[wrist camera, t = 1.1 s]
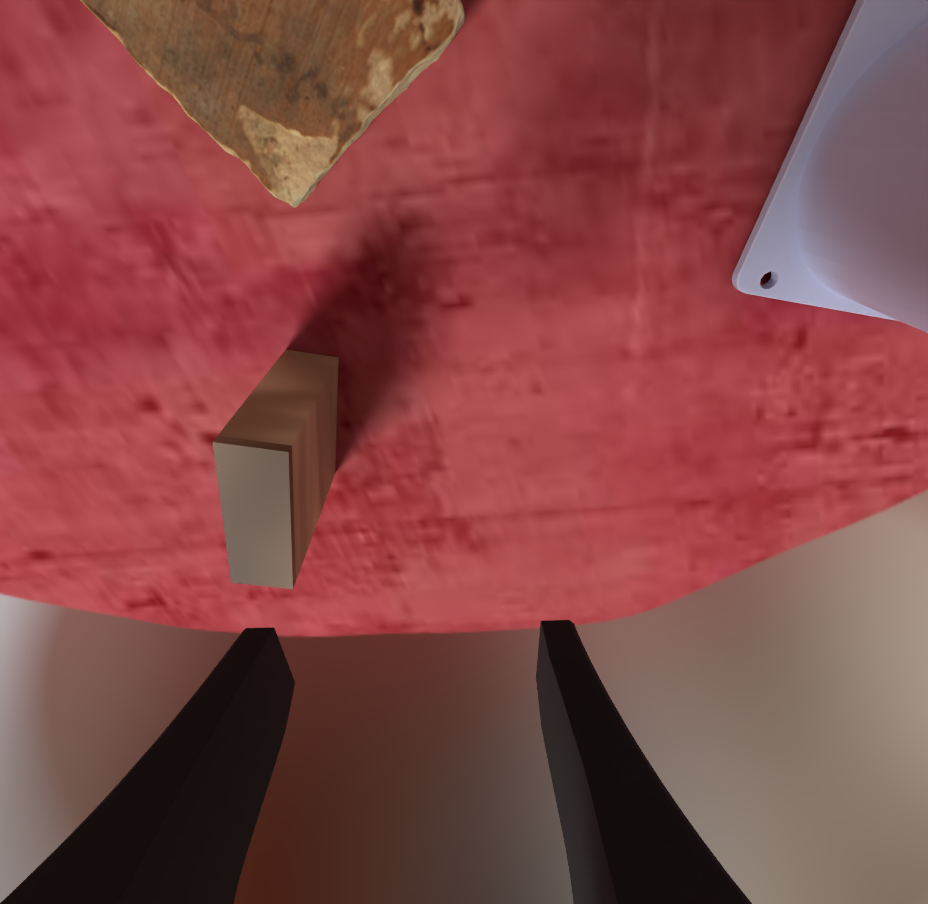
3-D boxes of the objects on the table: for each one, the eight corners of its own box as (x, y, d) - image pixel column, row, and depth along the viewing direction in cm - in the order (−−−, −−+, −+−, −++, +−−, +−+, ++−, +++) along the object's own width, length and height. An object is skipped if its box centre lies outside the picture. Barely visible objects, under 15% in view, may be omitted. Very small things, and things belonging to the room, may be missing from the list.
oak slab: (338, 357, 17) (288, 452, 12) (335, 472, 20) (293, 589, 15) (285, 349, 17) (212, 442, 12) (289, 466, 20) (231, 582, 15)
